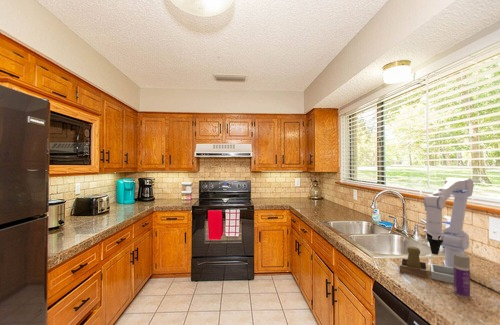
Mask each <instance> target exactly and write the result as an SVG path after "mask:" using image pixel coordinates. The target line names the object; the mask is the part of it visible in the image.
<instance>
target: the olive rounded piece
mask: <svg viewBox="0 0 500 325" xmlns="http://www.w3.org/2000/svg"><path fill="white" fill-rule="evenodd" d="M406 251H407V253H408V256H407V259H408V261H407V265H406V266H409V267H414V268H419V269H422V268H421V265H420V262H421V261H420V255H421V250H420V248H419V247H417V246H411V245H410V246H408V247H407V248H406Z"/></svg>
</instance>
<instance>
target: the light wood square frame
mask: <svg viewBox="0 0 500 325" xmlns="http://www.w3.org/2000/svg"><path fill="white" fill-rule="evenodd" d="M399 261H400V262H399V266H398V267H399V272H400V273H403V274H409V275H414V276H418V277H422V278H426V279H427V278H430V277H429V276H430V275H429V273H430V270H429V264H428V262H424V261H420V265H421V269H419V268H414V267H409V266H407V261H408V258H403V257H400V260H399Z"/></svg>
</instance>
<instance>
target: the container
mask: <svg viewBox="0 0 500 325" xmlns="http://www.w3.org/2000/svg"><path fill="white" fill-rule="evenodd" d="M470 267H471V263H470V256H468V255H467V254H465V253H464V254H458V253H456V254H454V275H453V276H454V283H453V293H454V295H456V296H458V297H462V298H470V297H471V272H470V270H471V268H470Z"/></svg>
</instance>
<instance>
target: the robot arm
mask: <svg viewBox="0 0 500 325" xmlns="http://www.w3.org/2000/svg"><path fill="white" fill-rule="evenodd" d="M473 191H474V181H473V180H472V178H470V177H467V178H466V177H465V178H464V177H446V178H445V181H444V185H443V186H442V187H438V188H437V189H436V190H435V191H434V192H432V194H427V195H425V197H424V198H423V206H424V211H425V212H426V214H425V215H426V218H425V221H426V222H425V223H426V224H425V225H426V227H425V229H423V230H422V231H423V233H425V235H426V236H427V237H426V240H427V242H428V244H429V247H430V252H431V255H434V256H439V252H440V248H441V246H443V247H444V259H442V262H443V264H444V265H443V266H447V267H452V268H454V254H456V253H458V254H464V255H465V251H467V249H469V246H470V236H469V234H468V233H466V232H465V231H464V230H463V229H464V228H463V227H464V223H465V222H464V221H465V214H466V209H467V205H468V204H467V202H468V198H469V197H472V196H473V193H474V192H473ZM451 196H453V198H454V199H453V205H452V210H451V216H450V221H449V222H450V223H449V227H446V228H443V209H444V208H445V206H446V203H447V200H449V199H450V197H451Z"/></svg>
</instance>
